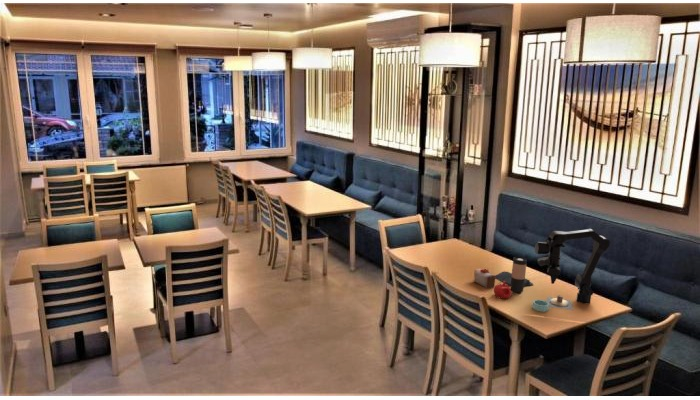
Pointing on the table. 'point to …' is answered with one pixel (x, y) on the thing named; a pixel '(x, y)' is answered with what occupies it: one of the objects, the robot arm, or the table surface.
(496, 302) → the table surface
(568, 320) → the table surface
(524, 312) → the table surface
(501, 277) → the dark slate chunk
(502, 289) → the pomegranate
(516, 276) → the travel mug
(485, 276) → the food item
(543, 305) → the bowl
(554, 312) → the table surface
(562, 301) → the lid
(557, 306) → the mat
